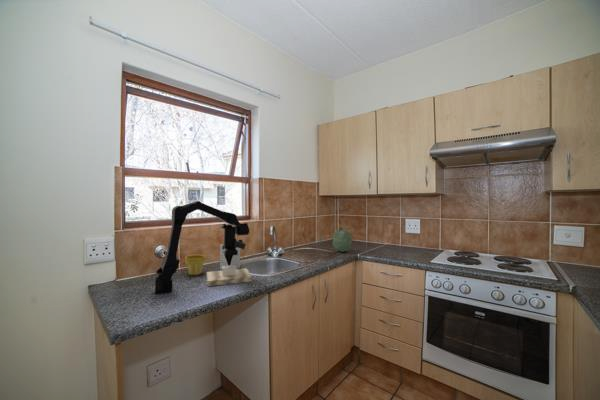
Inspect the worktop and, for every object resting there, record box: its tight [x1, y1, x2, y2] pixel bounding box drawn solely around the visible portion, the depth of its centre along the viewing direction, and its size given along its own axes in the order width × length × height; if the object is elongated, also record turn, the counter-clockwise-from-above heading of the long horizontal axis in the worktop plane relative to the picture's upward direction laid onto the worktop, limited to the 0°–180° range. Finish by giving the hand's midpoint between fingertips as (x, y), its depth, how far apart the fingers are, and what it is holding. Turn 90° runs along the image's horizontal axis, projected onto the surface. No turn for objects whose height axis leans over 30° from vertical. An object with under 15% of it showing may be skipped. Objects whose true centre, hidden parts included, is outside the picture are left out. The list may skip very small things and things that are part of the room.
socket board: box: [206, 267, 253, 287], centre depth 130 cm, size 22×16×2 cm
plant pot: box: [184, 254, 206, 276], centre depth 139 cm, size 10×10×10 cm
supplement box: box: [219, 243, 241, 270], centre depth 150 cm, size 9×9×15 cm
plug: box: [221, 265, 236, 276], centre depth 130 cm, size 7×5×6 cm, turn 113°
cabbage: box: [332, 228, 353, 253], centre depth 205 cm, size 16×19×20 cm
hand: (229, 265), depth 130 cm, fingers closed
